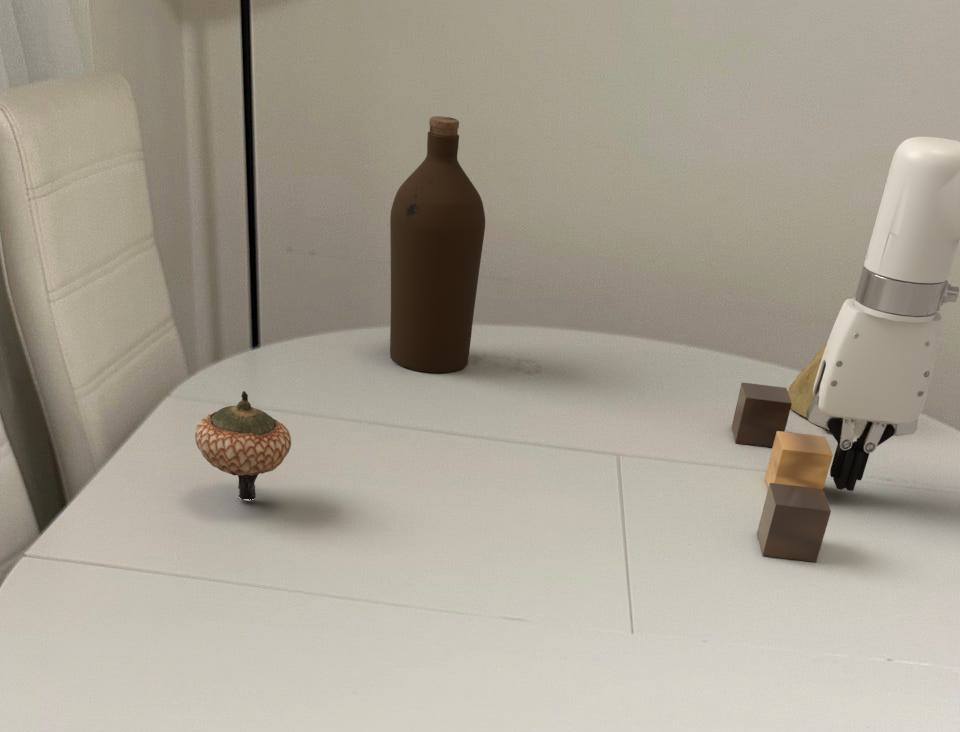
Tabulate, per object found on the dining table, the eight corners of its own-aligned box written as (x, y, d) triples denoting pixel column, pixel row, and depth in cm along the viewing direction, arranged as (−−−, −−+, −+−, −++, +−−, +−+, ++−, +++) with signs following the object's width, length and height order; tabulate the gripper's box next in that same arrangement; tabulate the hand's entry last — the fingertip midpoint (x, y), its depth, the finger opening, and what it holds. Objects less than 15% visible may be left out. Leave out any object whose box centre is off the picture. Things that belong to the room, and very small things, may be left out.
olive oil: (468, 379, 140) (489, 133, 124) (378, 368, 140) (387, 121, 124) (476, 351, 148) (497, 117, 132) (391, 341, 148) (401, 105, 132)
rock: (877, 422, 135) (883, 383, 141) (848, 354, 130) (855, 317, 137) (786, 461, 141) (796, 422, 147) (755, 397, 137) (767, 360, 143)
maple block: (812, 483, 125) (825, 436, 122) (819, 503, 121) (833, 455, 118) (764, 477, 125) (776, 430, 122) (770, 497, 121) (782, 449, 118)
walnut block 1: (775, 432, 136) (786, 387, 133) (780, 448, 132) (792, 403, 129) (731, 426, 136) (741, 382, 133) (735, 443, 132) (745, 397, 129)
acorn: (182, 508, 107) (175, 395, 101) (225, 475, 113) (220, 367, 107) (268, 528, 106) (265, 414, 99) (306, 493, 112) (306, 385, 105)
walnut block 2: (808, 539, 114) (823, 488, 111) (816, 562, 111) (831, 511, 107) (756, 532, 114) (769, 482, 111) (762, 556, 111) (775, 504, 107)
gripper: (969, 292, 114) (908, 479, 125) (812, 274, 114) (766, 462, 125) (989, 315, 108) (923, 508, 120) (824, 296, 108) (774, 491, 120)
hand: (842, 484), depth 123 cm, fingers closed
